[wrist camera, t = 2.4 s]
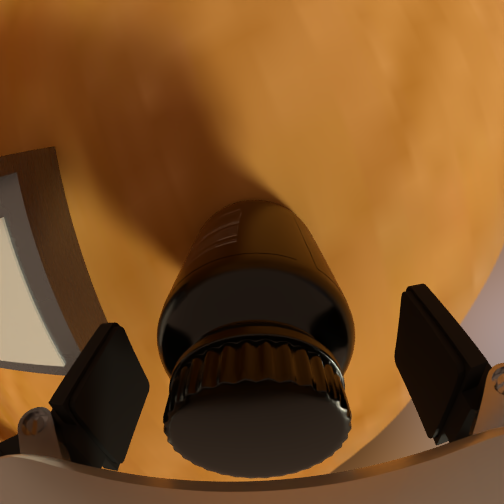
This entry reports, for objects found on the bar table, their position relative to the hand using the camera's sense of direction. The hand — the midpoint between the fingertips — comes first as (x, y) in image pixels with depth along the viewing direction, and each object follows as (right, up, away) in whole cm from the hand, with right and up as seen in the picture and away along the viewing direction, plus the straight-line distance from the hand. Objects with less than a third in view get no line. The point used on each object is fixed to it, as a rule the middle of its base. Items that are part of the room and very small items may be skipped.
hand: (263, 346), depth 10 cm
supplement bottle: (0, +3, +8) cm, 9 cm away
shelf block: (-18, +2, +9) cm, 20 cm away
